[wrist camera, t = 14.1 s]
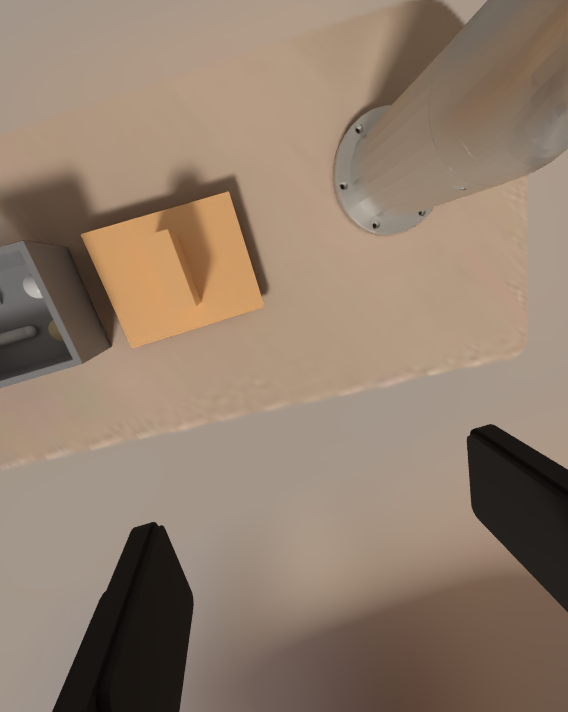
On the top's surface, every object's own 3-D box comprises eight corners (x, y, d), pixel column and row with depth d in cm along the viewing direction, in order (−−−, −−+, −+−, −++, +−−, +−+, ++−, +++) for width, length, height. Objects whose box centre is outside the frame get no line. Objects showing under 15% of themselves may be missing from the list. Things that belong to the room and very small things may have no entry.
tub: (67, 247, 33) (23, 240, 26) (111, 346, 36) (82, 363, 29) (-73, 285, 32) (-156, 288, 25) (-15, 383, 35) (-75, 410, 28)
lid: (229, 195, 34) (227, 178, 27) (263, 305, 37) (268, 311, 31) (89, 236, 33) (54, 227, 26) (137, 344, 36) (116, 359, 30)
